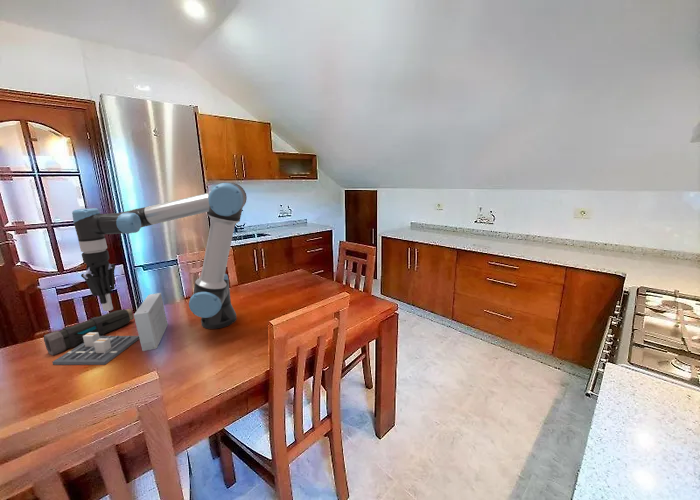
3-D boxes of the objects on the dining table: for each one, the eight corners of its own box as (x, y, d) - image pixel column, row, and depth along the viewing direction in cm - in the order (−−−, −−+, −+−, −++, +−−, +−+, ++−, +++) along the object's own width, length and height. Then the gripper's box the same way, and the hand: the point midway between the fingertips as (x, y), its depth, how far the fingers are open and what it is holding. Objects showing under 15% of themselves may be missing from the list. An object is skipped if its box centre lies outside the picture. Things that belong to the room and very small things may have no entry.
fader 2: (111, 348, 115) (109, 338, 114) (105, 353, 112) (102, 342, 111) (102, 348, 115) (99, 338, 114) (95, 353, 112) (93, 342, 111)
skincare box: (154, 327, 134) (148, 294, 131) (168, 324, 136) (162, 292, 132) (140, 351, 115) (132, 314, 111) (156, 349, 117) (149, 311, 113)
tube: (138, 329, 138) (52, 357, 111) (130, 330, 141) (44, 356, 114) (134, 306, 138) (47, 328, 111) (125, 307, 141) (39, 329, 114)
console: (139, 338, 125) (138, 334, 124) (105, 364, 107) (103, 359, 107) (94, 338, 125) (93, 334, 125) (53, 364, 108) (51, 359, 107)
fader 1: (100, 342, 119) (98, 332, 118) (94, 346, 116) (91, 336, 115) (91, 342, 119) (89, 332, 118) (85, 346, 116) (82, 336, 115)
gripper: (99, 247, 116) (112, 303, 122) (68, 255, 103) (84, 317, 109) (118, 246, 116) (130, 302, 122) (89, 255, 103) (104, 317, 109)
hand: (108, 309), depth 115 cm, fingers closed
